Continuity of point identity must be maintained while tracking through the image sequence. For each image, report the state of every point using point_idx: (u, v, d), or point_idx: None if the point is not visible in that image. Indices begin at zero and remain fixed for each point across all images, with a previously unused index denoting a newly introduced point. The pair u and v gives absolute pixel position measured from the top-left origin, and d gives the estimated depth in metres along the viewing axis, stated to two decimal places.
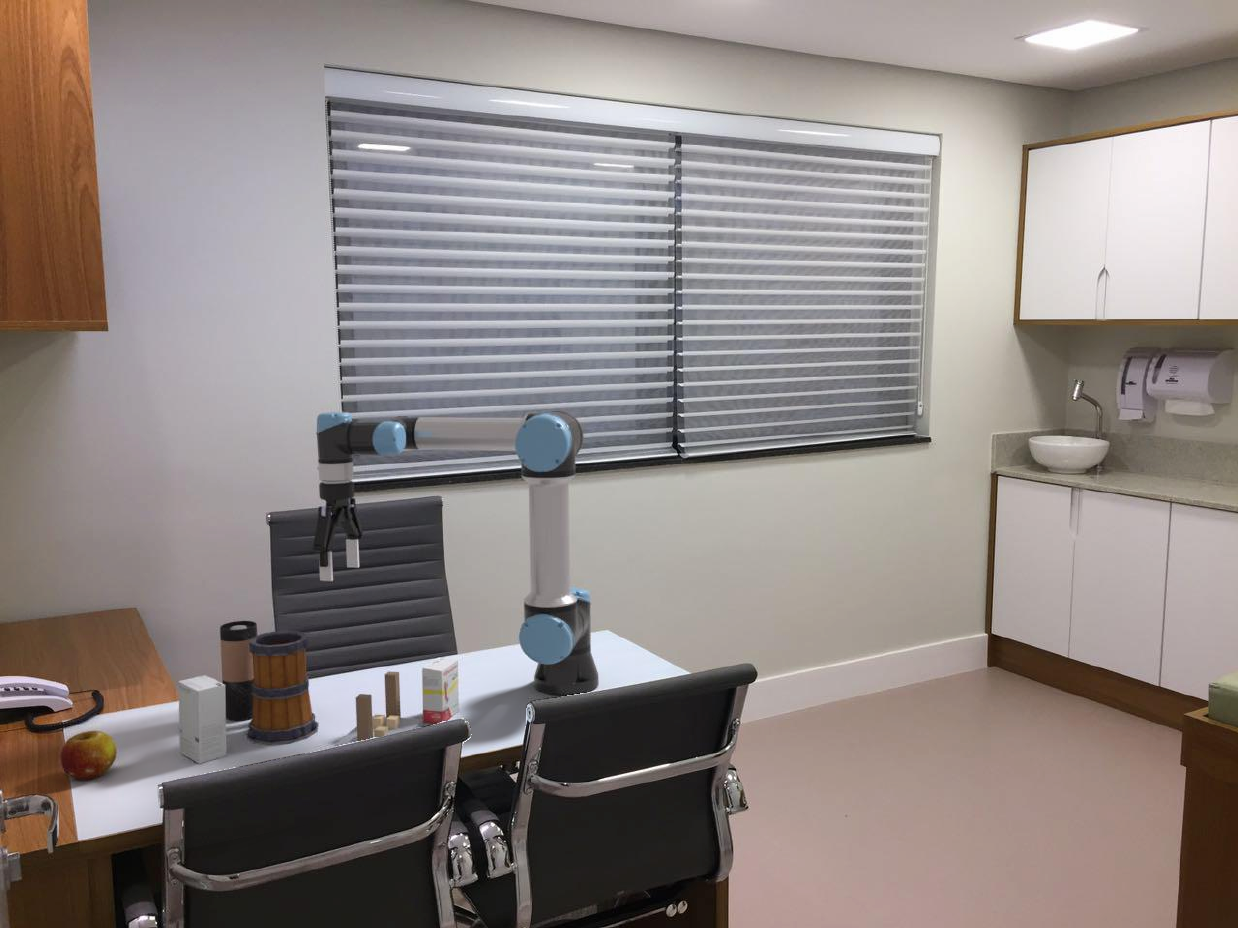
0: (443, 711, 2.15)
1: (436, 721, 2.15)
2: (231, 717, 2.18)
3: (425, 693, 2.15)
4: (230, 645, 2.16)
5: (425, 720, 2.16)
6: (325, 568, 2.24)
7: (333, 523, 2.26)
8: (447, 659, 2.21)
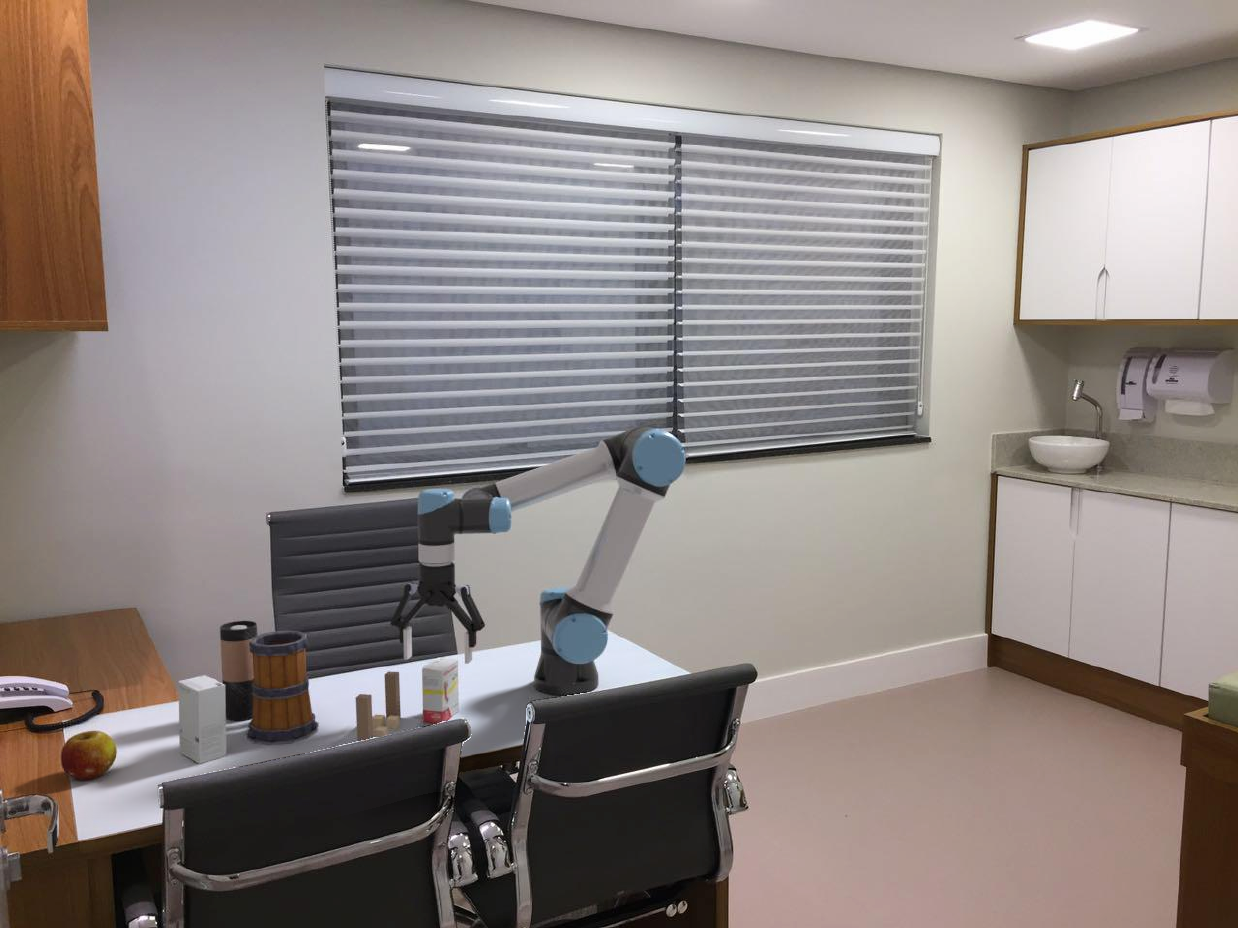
0: (443, 711, 2.15)
1: (436, 721, 2.15)
2: (231, 717, 2.18)
3: (425, 693, 2.15)
4: (230, 645, 2.16)
5: (425, 720, 2.16)
6: None
7: (417, 603, 2.16)
8: (447, 659, 2.21)
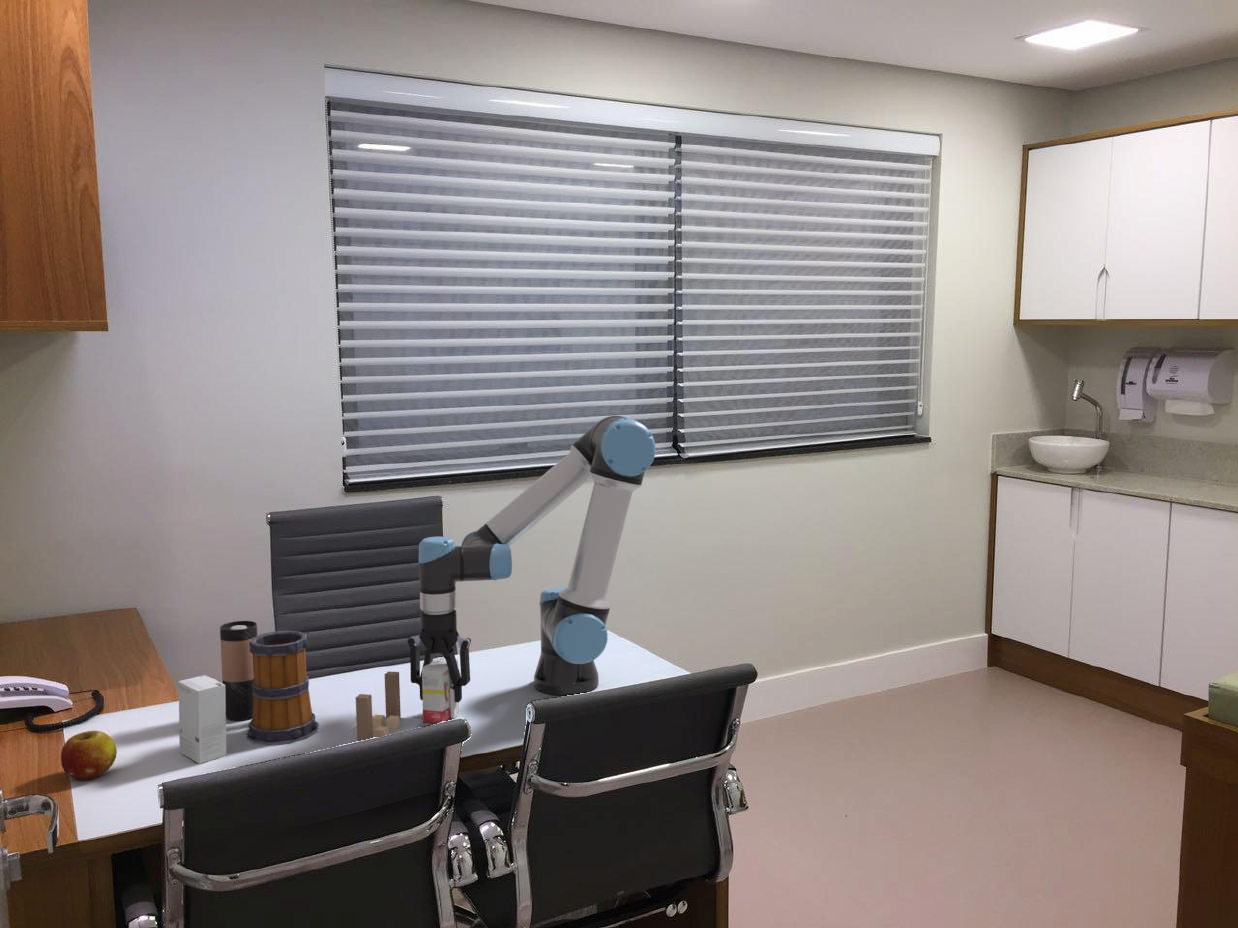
0: (443, 711, 2.15)
1: (436, 721, 2.15)
2: (231, 717, 2.18)
3: (425, 693, 2.15)
4: (230, 645, 2.16)
5: (425, 720, 2.16)
6: None
7: None
8: None
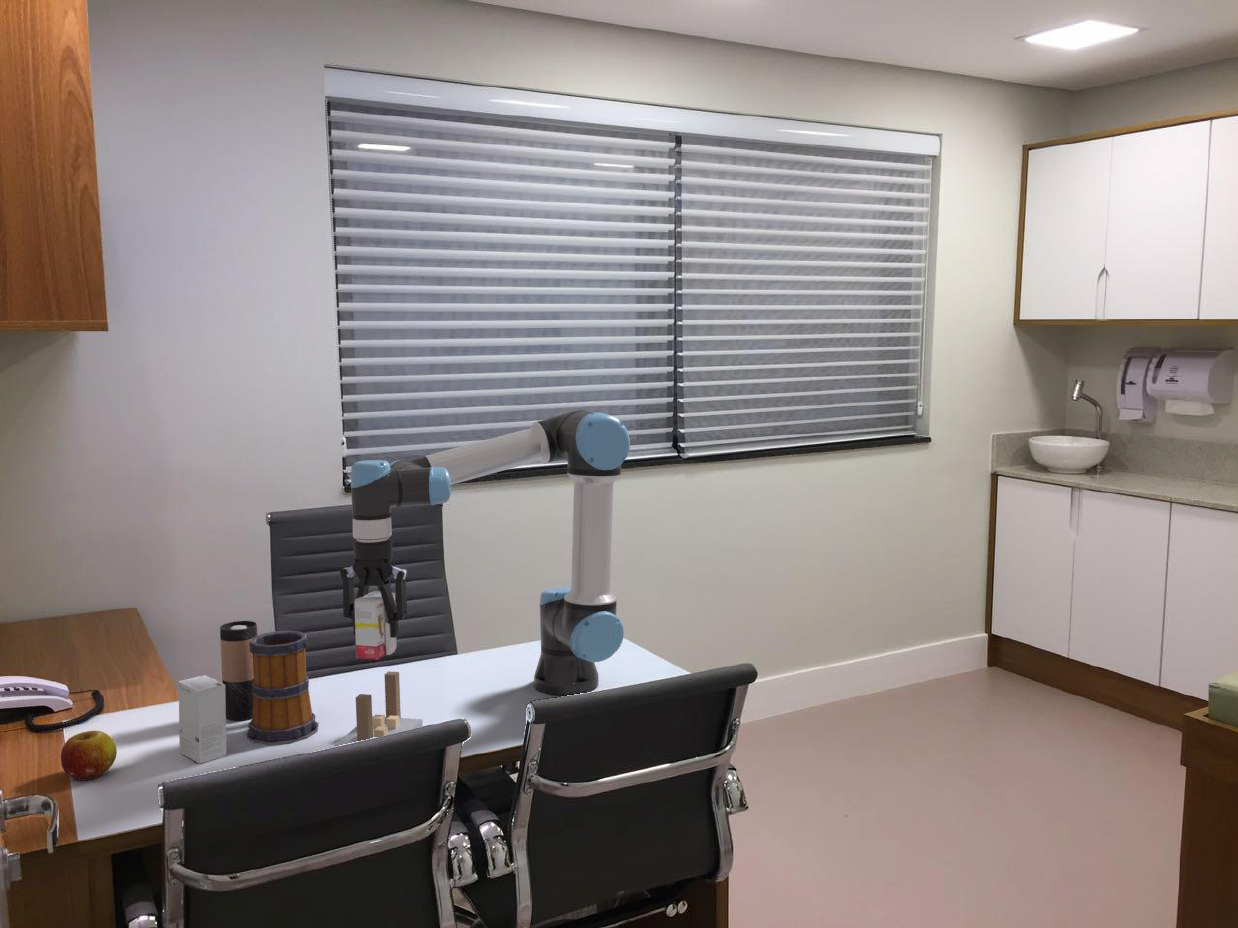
0: (378, 646, 2.01)
1: (370, 657, 2.01)
2: (231, 717, 2.18)
3: (358, 627, 2.01)
4: (230, 645, 2.16)
5: (358, 656, 2.02)
6: None
7: None
8: None
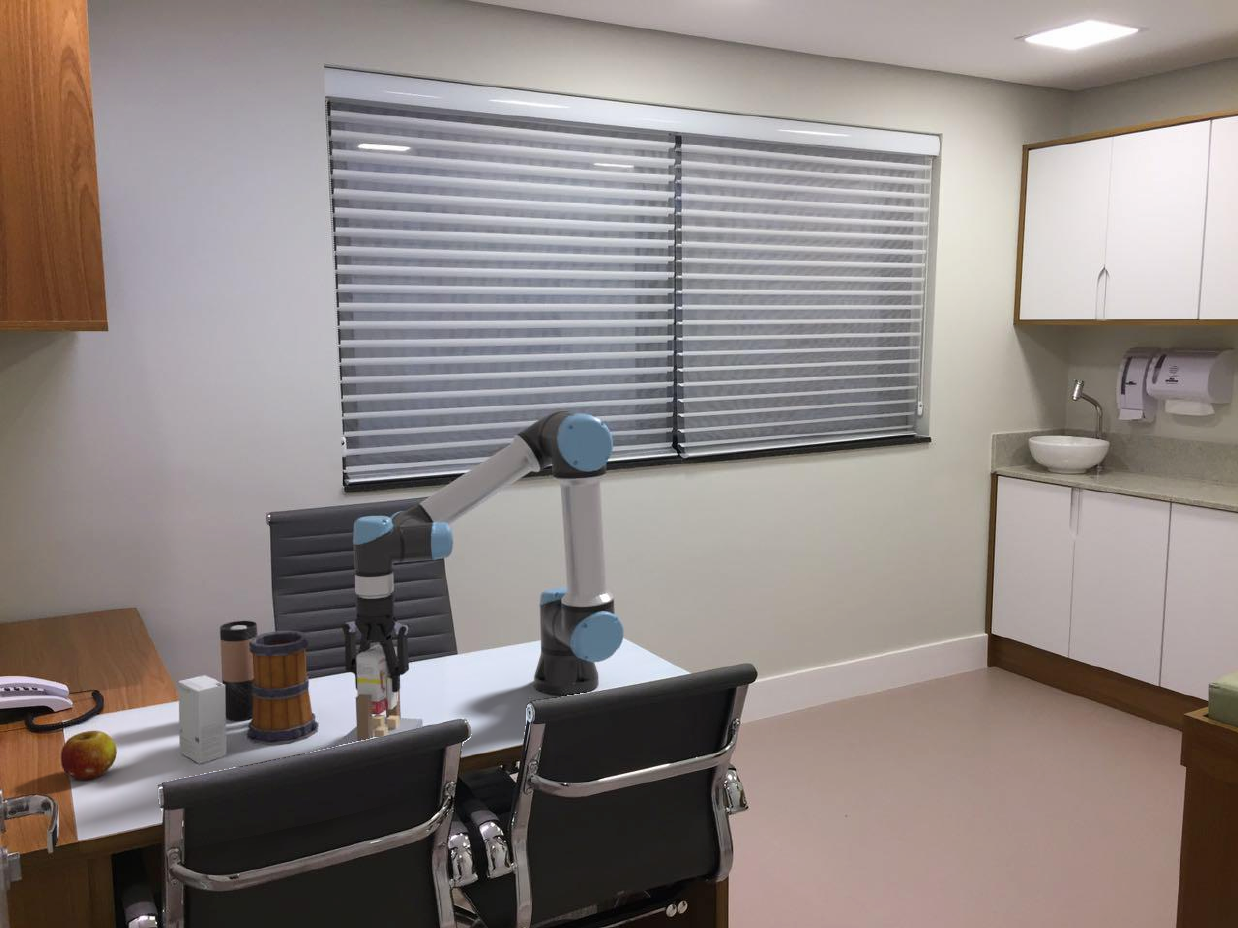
0: (379, 701, 2.02)
1: None
2: (231, 717, 2.18)
3: (360, 682, 2.02)
4: (230, 645, 2.16)
5: None
6: None
7: None
8: None
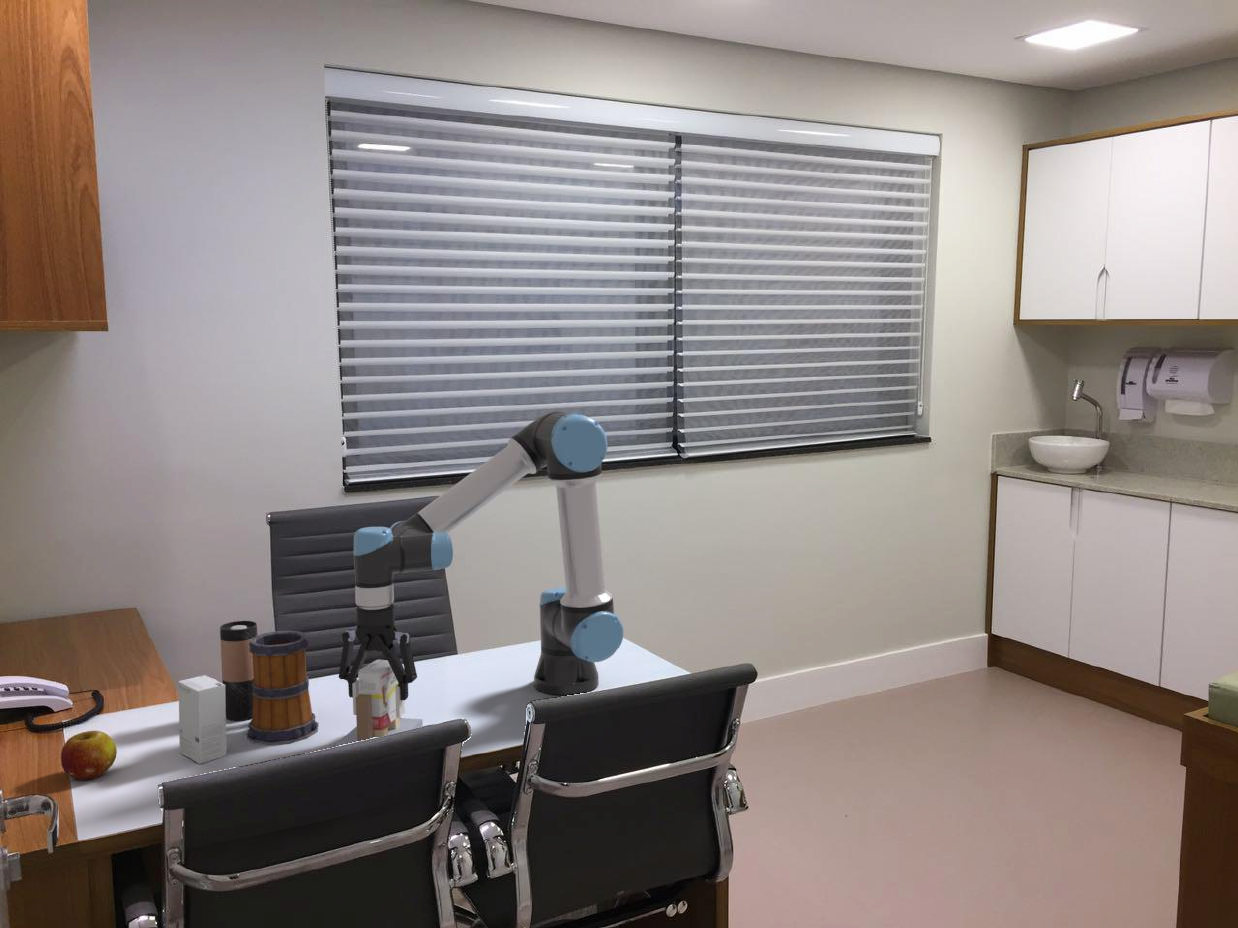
0: (382, 716, 2.03)
1: (374, 727, 2.03)
2: (231, 717, 2.18)
3: None
4: (230, 645, 2.16)
5: None
6: None
7: None
8: (386, 661, 2.09)
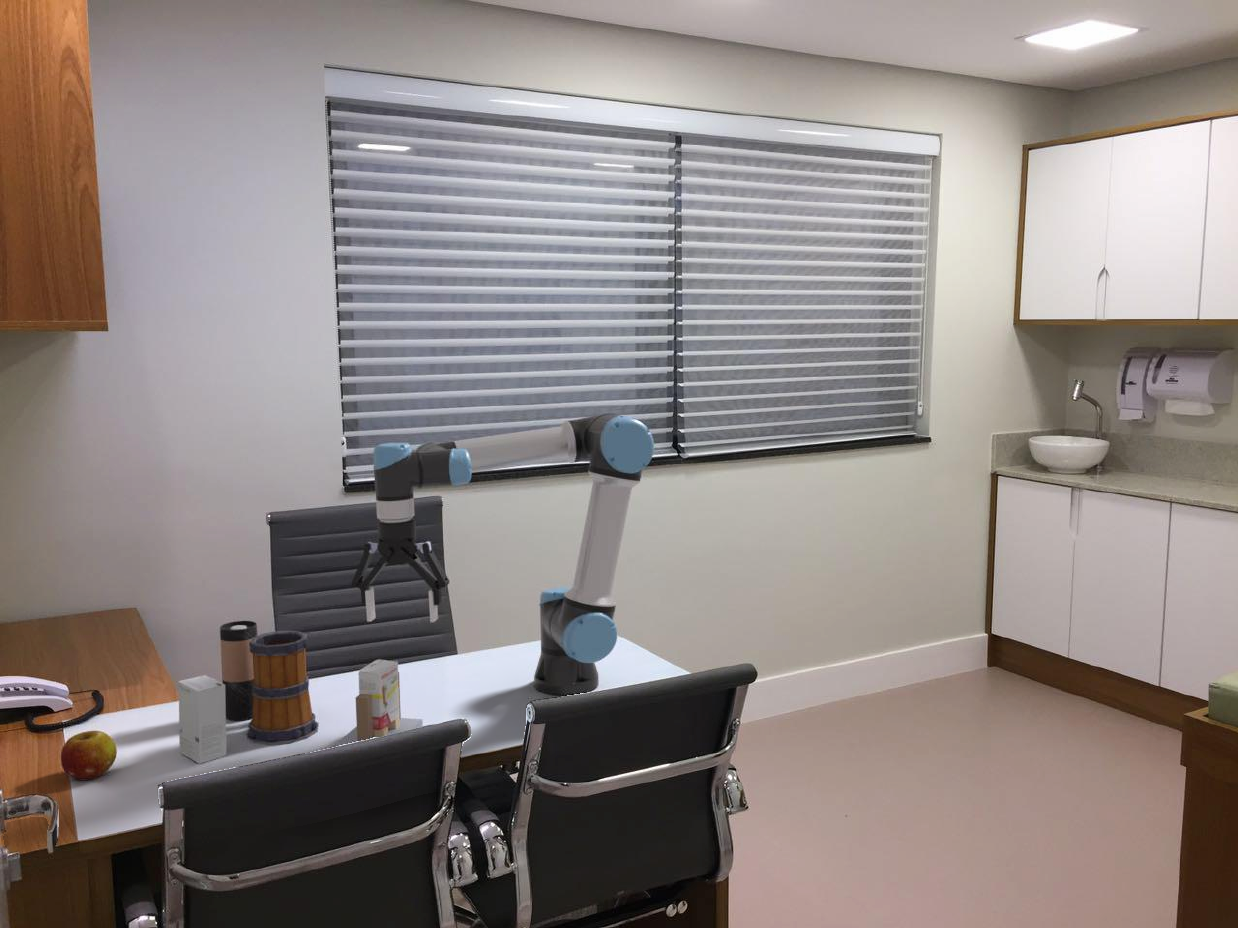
0: (382, 716, 2.03)
1: (374, 727, 2.03)
2: (231, 717, 2.18)
3: None
4: (230, 645, 2.16)
5: None
6: None
7: None
8: (386, 661, 2.09)
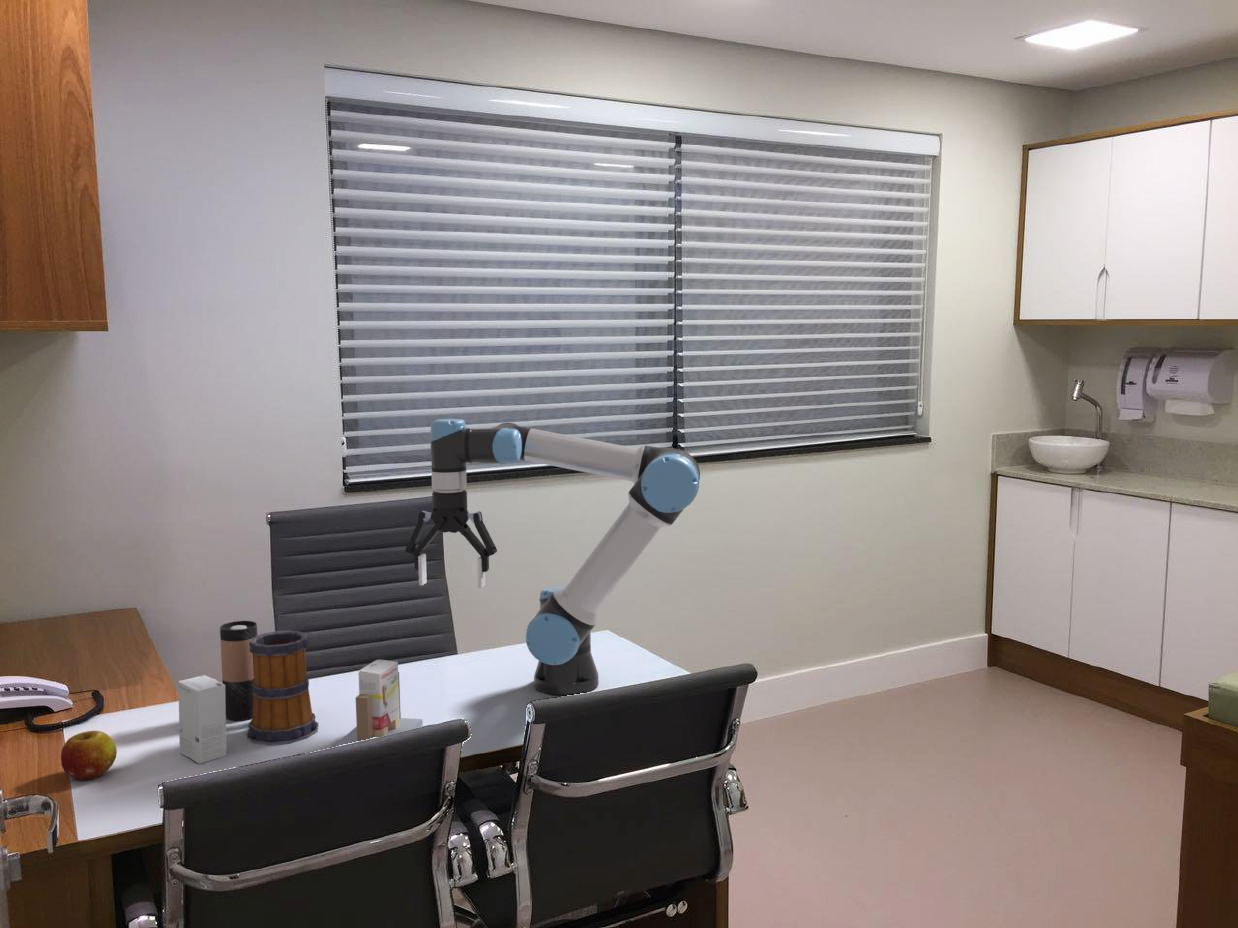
0: (382, 716, 2.03)
1: (374, 727, 2.03)
2: (231, 717, 2.18)
3: None
4: (230, 645, 2.16)
5: None
6: None
7: (431, 530, 2.24)
8: (386, 661, 2.09)
